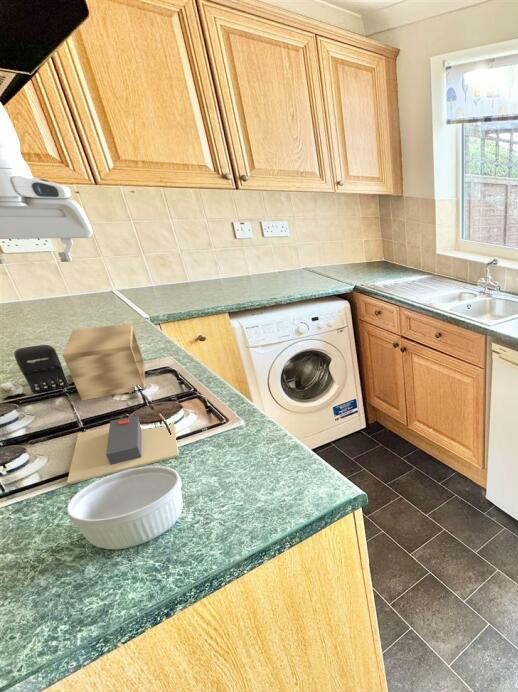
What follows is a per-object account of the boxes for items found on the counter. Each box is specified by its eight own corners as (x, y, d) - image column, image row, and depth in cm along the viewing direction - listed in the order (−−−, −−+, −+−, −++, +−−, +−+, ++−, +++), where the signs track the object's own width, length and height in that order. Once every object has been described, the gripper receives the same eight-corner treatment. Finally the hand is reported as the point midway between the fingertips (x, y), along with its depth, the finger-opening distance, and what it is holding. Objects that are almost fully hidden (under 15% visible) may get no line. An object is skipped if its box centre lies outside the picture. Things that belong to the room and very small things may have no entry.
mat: (67, 484, 75) (66, 482, 75) (79, 435, 89) (78, 433, 89) (178, 456, 84) (178, 454, 84) (173, 415, 98) (172, 413, 98)
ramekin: (195, 489, 76) (185, 457, 73) (184, 539, 65) (172, 505, 62) (98, 510, 70) (83, 477, 67) (69, 569, 59) (50, 532, 56)
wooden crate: (81, 400, 102) (62, 354, 97) (89, 371, 116) (72, 330, 111) (145, 389, 109) (130, 346, 104) (144, 363, 123) (131, 323, 118)
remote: (110, 465, 80) (105, 453, 79) (113, 430, 90) (109, 419, 89) (141, 457, 82) (137, 445, 81) (141, 424, 93) (137, 414, 92)
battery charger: (31, 395, 102) (10, 352, 98) (30, 390, 105) (10, 347, 100) (71, 388, 107) (53, 346, 102) (69, 383, 109) (52, 341, 105)
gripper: (-98, 182, 69) (-55, 268, 74) (75, 188, 80) (101, 262, 86) (-83, 181, 73) (-44, 262, 79) (79, 187, 85) (103, 257, 91)
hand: (33, 262), depth 83 cm, fingers open, 8 cm apart
